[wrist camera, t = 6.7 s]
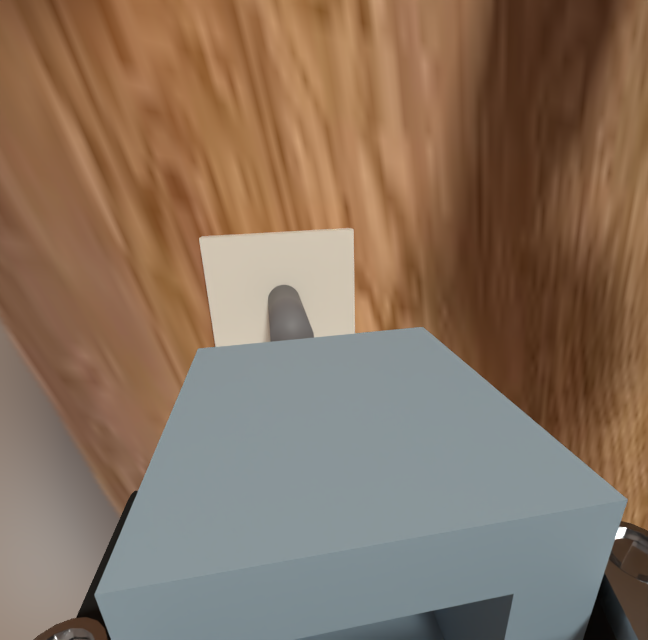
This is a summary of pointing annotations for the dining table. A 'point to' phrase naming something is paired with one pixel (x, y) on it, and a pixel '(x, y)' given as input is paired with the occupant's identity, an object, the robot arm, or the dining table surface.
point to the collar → (356, 504)
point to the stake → (280, 285)
